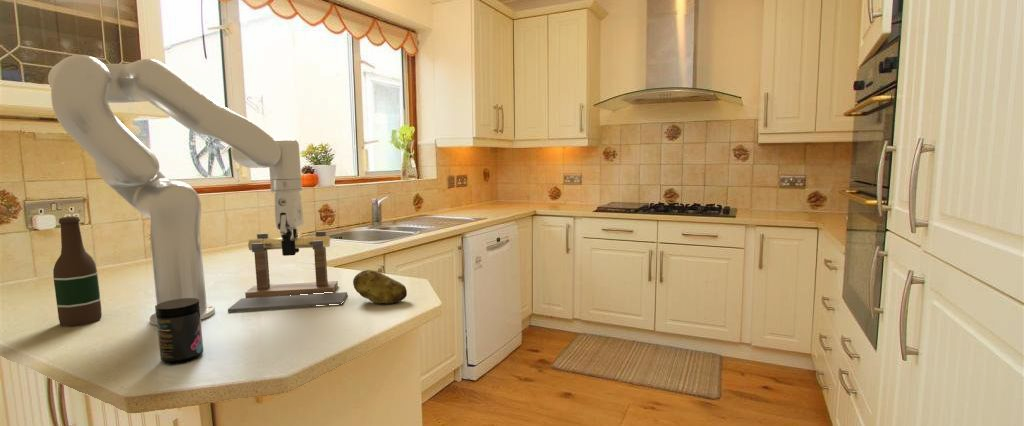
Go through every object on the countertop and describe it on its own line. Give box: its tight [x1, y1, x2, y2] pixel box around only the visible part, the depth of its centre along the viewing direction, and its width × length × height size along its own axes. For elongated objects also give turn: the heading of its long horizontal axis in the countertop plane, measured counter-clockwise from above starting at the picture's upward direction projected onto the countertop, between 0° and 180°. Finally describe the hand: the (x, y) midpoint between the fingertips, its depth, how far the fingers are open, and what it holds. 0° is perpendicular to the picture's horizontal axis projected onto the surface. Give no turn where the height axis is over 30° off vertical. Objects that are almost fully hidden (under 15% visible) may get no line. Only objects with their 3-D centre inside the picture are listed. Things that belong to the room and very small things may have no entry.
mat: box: [227, 291, 348, 313], centre depth 125 cm, size 9×26×1 cm, turn 100°
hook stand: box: [244, 230, 339, 298], centre depth 134 cm, size 7×22×16 cm, turn 100°
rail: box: [247, 235, 331, 252], centre depth 134 cm, size 3×20×3 cm, turn 100°
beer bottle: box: [52, 216, 103, 327], centre depth 112 cm, size 8×8×24 cm
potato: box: [352, 269, 408, 304], centre depth 124 cm, size 8×13×8 cm, turn 65°
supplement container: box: [154, 298, 204, 365], centre depth 91 cm, size 7×7×10 cm
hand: (291, 253), depth 134 cm, fingers closed on rail, 3 cm apart
